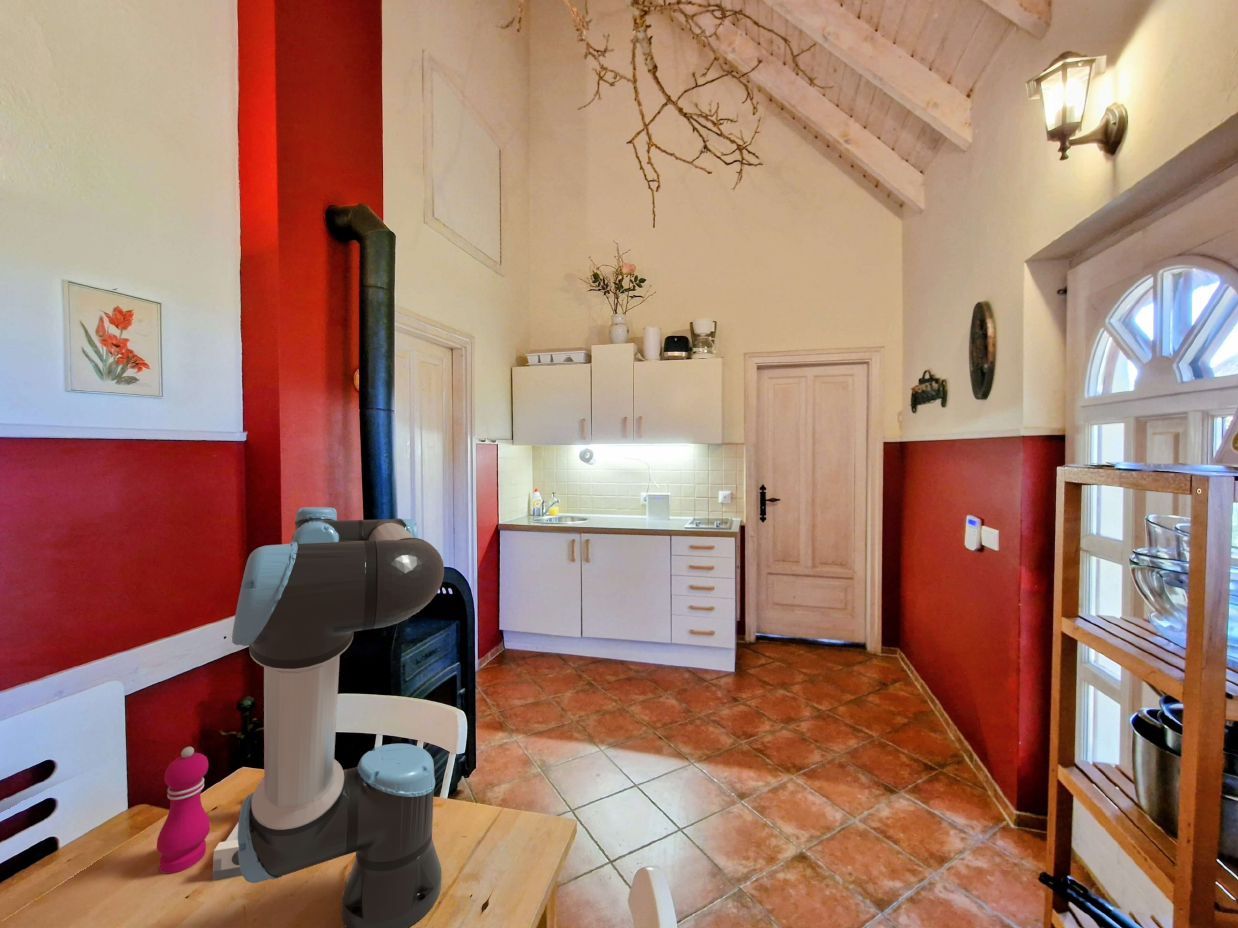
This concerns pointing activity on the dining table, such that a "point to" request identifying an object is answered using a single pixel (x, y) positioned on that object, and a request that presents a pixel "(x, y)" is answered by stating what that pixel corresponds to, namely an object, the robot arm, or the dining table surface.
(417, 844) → the robot arm
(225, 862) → the rail track
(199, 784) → the pepper mill
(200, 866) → the dining table surface
